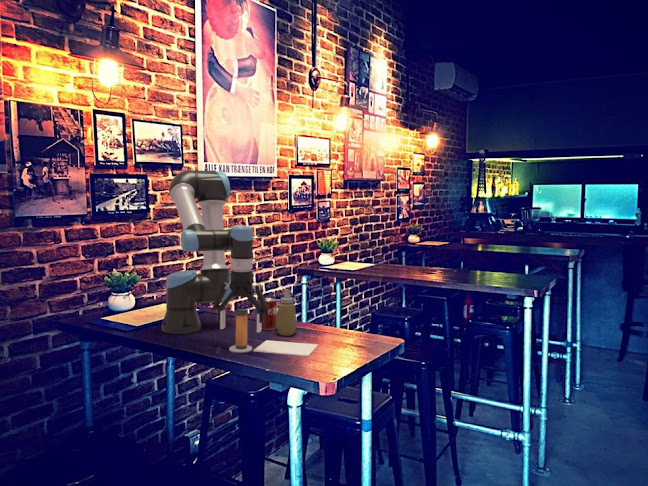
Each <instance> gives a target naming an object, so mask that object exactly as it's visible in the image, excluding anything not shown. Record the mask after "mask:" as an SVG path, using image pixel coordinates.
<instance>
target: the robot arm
mask: <svg viewBox="0 0 648 486" xmlns="http://www.w3.org/2000/svg"><path fill="white" fill-rule="evenodd" d="M168 193H169V197H170V200H171V201H172V202H173V203H174V204H175V207H176V210H177V213H178V216H179V220H180V222H181V225H182V229H183V230H182V231H181V233H180V247H181V249H182V250H183V251H185V252H203V265H202V266H201V268H200V272H199V273H198V272H197V271H196V270H193V269H192V270H191V269H190V270H180V271H175V272H172V273H170V274H168V275H167V277H166V279H165V280H166V283H165V289H166V290H165V292H166V295H165V296H166V297H165V298H166V302H165V303H166V304H165V308H166V309H165V315H164V317H163V320H162V323H161V331H162V332H163V333H165V334H170V335H184V334H185V335H186V334H192V333H197V332H199V331H201V330H202V323H201V320H200V318H199V314H198V312H197V304H198V303H199V304H202V303H203V304H204V303H213V305H212V308H213V309H215V310H217V318H218V320H219V329H220V330H223V329H225V328H226V309H225V308H226V306H227V305H228V304H229V303H230V301H231V300H232V299H233V298H234V297H236V298H239V297H241V298H246V299H248V300H249V302H250V303H251V304H252V305H253V307H254V308H255V309H256V311H257V312H258V313H256V333H260V332H262V329H261V324H262V323H263V322H264V313H266V312H268V311H269V310H270V309H269V307H268V304H267V302H266V300H265V298H266V297H265V295H264V293H263V291H262V286H261V285H262V284H256V285H255V284H253V271H252V270H253V254H254V253H253V252H254V251H253V248H254V247H253V244H254V242H253V241H254V232H253V227H252V226H250V225H233V226H231V228H227V229H224V211H223V208H224V206H225V205H226V204H227V200H228V199H230V196H231V184H230V181H229V178H228V176H227V174H226V173H225V172H223V171H217V170H198V169H197V170H194V169H187V170H183V171H181V172H179V173H178V174H176V175H175V176H174V177H173V179H172V180H171V181H170V184H169V187H168ZM196 200H197V202H196ZM198 206H199V207H200V208H201V212H200V209H199V207H198ZM225 251H230V268H229V266H228V265H226V254H225ZM252 291H254V292H255V293H256V296H257V298H258V299H257V298H256V296H255V295H254V293H253V292H252ZM259 301H260V303H261V305H262V306H261V305H260V303H259Z"/></svg>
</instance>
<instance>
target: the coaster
mask: <svg viewBox="0 0 648 486" xmlns="http://www.w3.org/2000/svg"><path fill="white" fill-rule="evenodd" d="M251 351H253V346H251V345H249V344H247V349H236V344H234V345H231V346H230V347H229V352H231V353H236V354H237V353H238V354H239V353H241V354H242V353H249V352H251Z"/></svg>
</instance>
